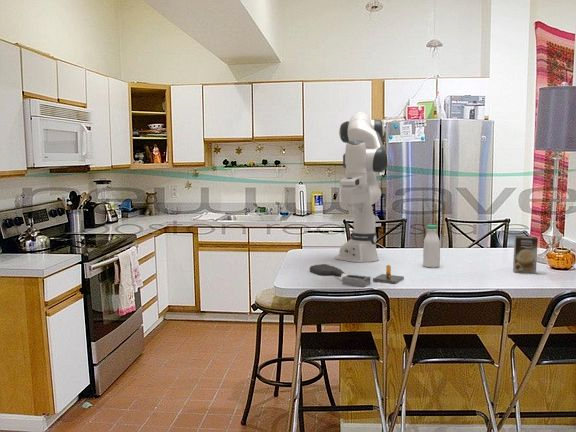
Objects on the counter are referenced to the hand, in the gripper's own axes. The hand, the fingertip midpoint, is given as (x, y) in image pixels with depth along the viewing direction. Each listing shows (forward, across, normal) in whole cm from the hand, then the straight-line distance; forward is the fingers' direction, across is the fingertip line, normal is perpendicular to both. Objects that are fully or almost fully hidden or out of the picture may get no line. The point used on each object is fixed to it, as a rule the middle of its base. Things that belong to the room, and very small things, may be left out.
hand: (356, 214), depth 212 cm
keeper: (+29, -13, +9) cm, 33 cm away
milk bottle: (+30, -50, +16) cm, 60 cm away
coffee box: (+30, -58, +56) cm, 86 cm away
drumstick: (+30, -10, -17) cm, 36 cm away
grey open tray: (+29, 0, 0) cm, 29 cm away
